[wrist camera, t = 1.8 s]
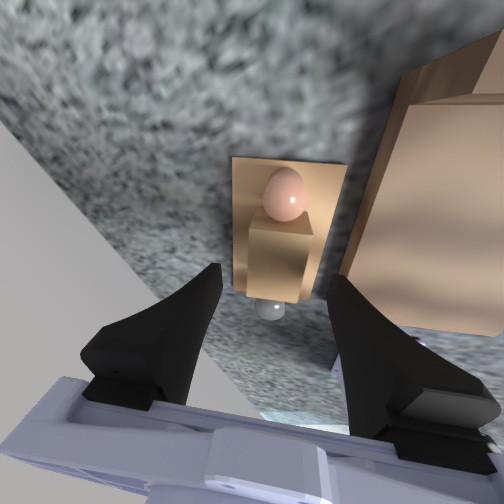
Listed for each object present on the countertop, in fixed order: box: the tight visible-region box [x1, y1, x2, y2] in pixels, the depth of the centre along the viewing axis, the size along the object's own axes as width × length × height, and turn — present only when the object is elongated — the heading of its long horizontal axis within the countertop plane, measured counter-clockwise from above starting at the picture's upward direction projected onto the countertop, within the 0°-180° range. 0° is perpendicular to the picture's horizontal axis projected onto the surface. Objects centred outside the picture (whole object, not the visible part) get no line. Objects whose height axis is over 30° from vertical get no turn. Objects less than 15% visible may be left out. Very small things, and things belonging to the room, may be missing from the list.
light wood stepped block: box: [338, 29, 504, 337], centre depth 12 cm, size 18×14×6 cm
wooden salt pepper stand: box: [232, 157, 348, 320], centre depth 16 cm, size 13×8×5 cm, turn 177°
